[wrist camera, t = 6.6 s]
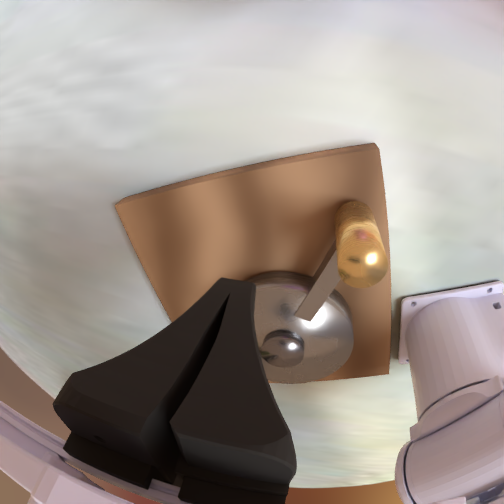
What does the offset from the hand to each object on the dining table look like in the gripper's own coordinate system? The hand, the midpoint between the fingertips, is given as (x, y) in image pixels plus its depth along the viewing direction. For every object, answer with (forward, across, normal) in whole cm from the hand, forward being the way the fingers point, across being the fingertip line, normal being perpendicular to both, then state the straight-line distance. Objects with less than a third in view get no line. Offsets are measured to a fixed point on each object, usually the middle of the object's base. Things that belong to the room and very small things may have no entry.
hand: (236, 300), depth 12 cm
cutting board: (+10, -1, +8) cm, 13 cm away
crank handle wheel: (+9, -3, +6) cm, 11 cm away
